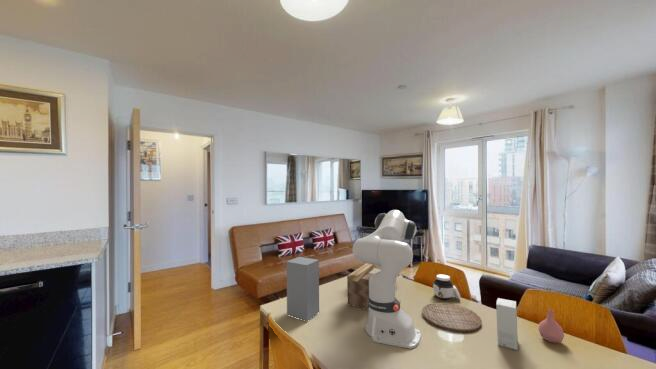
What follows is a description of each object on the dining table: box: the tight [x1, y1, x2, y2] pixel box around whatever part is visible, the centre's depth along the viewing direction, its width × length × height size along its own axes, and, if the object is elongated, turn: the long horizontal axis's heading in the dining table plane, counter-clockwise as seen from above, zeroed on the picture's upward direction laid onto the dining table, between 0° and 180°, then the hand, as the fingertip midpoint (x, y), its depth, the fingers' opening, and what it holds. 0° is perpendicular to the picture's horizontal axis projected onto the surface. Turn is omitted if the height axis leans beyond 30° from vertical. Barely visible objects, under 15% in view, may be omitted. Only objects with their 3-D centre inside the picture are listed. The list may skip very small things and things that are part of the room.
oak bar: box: [349, 263, 374, 282], centre depth 138 cm, size 4×22×3 cm, turn 149°
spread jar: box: [432, 273, 461, 301], centre depth 143 cm, size 12×11×12 cm
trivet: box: [421, 302, 483, 334], centre depth 121 cm, size 25×25×2 cm
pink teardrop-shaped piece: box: [538, 308, 565, 343], centre depth 102 cm, size 8×8×12 cm
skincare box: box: [495, 297, 519, 351], centre depth 102 cm, size 8×7×16 cm
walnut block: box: [346, 272, 374, 311], centre depth 137 cm, size 12×10×15 cm
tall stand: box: [286, 256, 320, 322], centre depth 126 cm, size 12×10×26 cm
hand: (372, 252), depth 155 cm, fingers open, 8 cm apart
